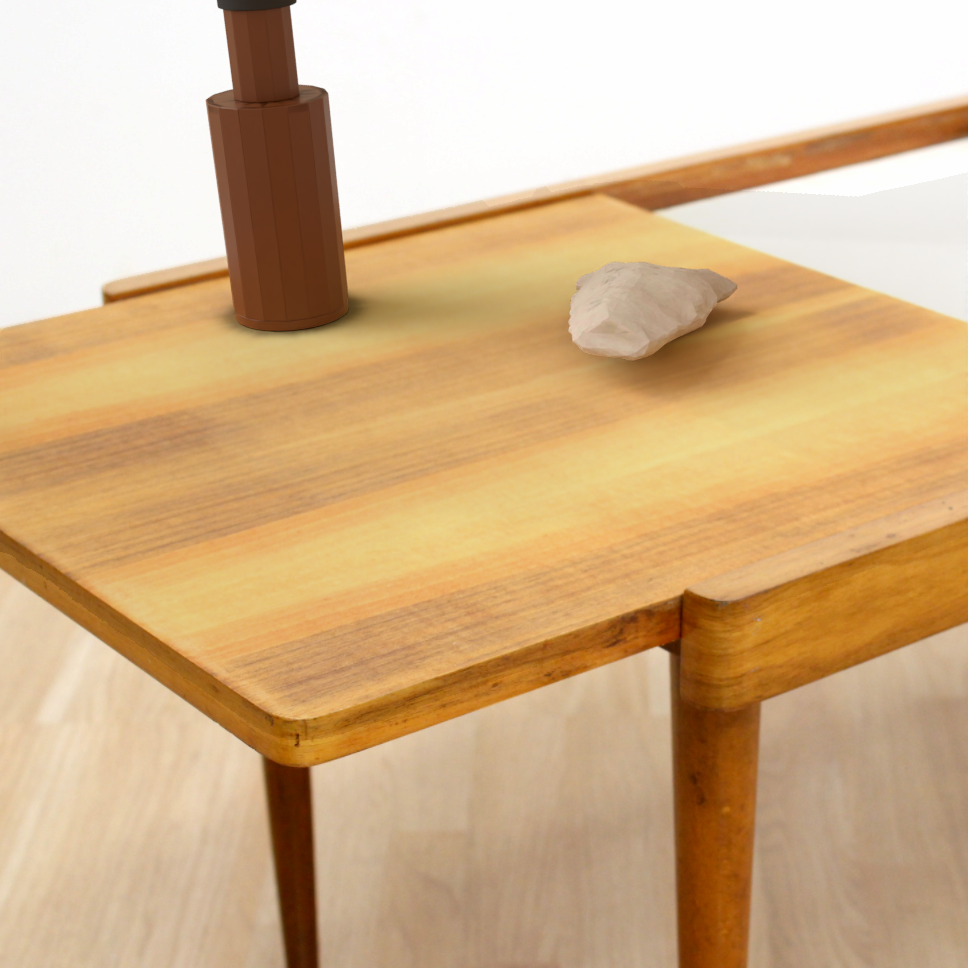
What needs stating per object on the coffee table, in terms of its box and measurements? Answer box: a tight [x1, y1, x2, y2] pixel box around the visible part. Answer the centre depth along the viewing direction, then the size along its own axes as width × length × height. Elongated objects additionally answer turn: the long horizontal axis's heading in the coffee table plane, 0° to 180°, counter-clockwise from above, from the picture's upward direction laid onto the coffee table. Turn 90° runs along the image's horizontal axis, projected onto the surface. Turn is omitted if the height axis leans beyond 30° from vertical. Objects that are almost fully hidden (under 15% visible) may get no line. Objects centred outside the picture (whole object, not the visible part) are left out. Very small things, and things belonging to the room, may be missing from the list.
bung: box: [216, 0, 298, 11], centre depth 87 cm, size 4×4×4 cm
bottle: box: [205, 6, 350, 332], centre depth 91 cm, size 7×7×18 cm
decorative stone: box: [567, 261, 738, 362], centre depth 86 cm, size 10×4×15 cm
